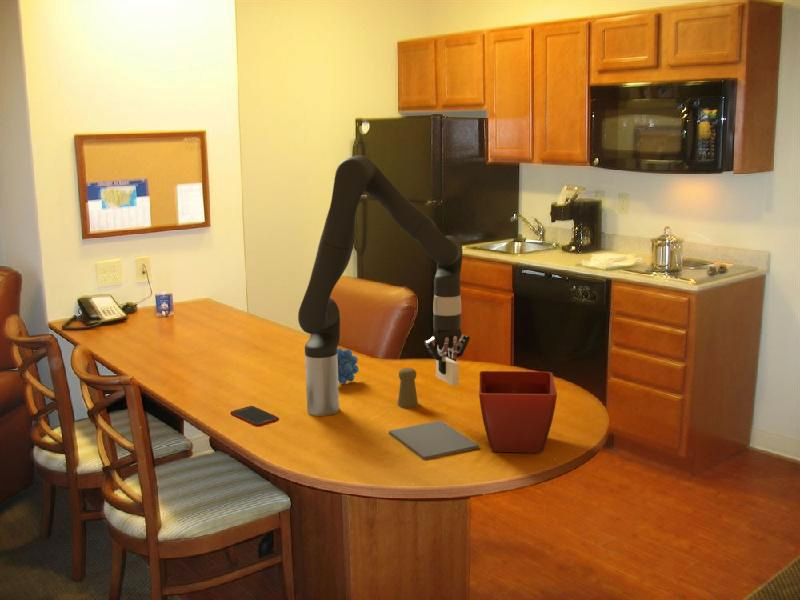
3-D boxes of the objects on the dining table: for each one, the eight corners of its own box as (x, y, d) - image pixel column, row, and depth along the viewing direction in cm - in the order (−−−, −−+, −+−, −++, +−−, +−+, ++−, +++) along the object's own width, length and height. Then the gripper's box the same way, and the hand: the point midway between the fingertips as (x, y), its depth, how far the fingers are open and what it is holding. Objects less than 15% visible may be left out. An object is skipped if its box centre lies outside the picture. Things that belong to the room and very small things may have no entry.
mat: (388, 433, 231) (388, 430, 231) (440, 423, 238) (440, 420, 237) (423, 459, 213) (423, 456, 213) (478, 447, 220) (478, 445, 220)
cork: (394, 406, 251) (394, 370, 249) (401, 400, 257) (401, 364, 254) (414, 408, 249) (413, 372, 247) (420, 402, 255) (420, 366, 252)
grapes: (335, 391, 266) (334, 353, 263) (323, 385, 271) (322, 349, 268) (366, 383, 273) (365, 347, 270) (354, 378, 278) (353, 342, 275)
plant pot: (479, 429, 233) (479, 369, 229) (550, 430, 231) (552, 371, 227) (478, 457, 214) (478, 393, 211) (555, 459, 213) (557, 394, 209)
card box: (435, 376, 237) (435, 356, 236) (442, 375, 238) (442, 354, 237) (452, 385, 229) (452, 364, 228) (459, 384, 230) (459, 363, 229)
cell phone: (252, 408, 253) (251, 405, 252) (280, 421, 242) (280, 417, 242) (229, 414, 248) (229, 411, 247) (257, 428, 237) (257, 425, 237)
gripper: (462, 305, 236) (461, 365, 240) (417, 311, 230) (418, 373, 234) (476, 310, 229) (476, 372, 233) (431, 317, 223) (431, 380, 227)
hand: (447, 372), depth 233 cm, fingers closed on card box, 2 cm apart
